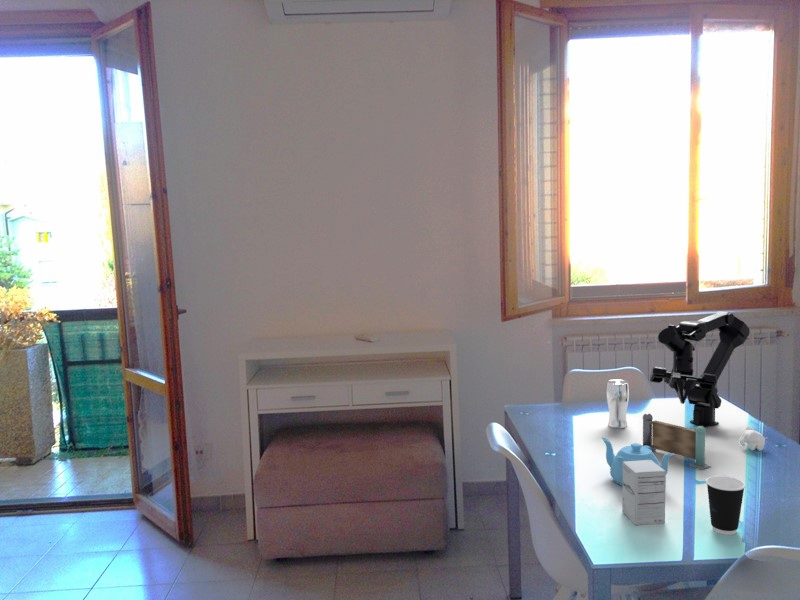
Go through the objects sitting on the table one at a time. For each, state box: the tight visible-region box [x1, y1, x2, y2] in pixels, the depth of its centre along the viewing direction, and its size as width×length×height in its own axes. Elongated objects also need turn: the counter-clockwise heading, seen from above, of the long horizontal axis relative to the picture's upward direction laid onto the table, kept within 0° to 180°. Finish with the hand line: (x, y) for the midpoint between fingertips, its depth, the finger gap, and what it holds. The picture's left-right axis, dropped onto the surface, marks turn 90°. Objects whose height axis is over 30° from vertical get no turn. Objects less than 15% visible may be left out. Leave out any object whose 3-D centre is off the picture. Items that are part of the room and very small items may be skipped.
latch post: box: [688, 425, 712, 471], centre depth 189 cm, size 4×4×11 cm
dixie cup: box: [705, 475, 746, 536], centre depth 151 cm, size 8×8×11 cm
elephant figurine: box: [738, 426, 769, 452], centre depth 202 cm, size 7×8×6 cm
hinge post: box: [641, 412, 657, 452], centre depth 204 cm, size 5×5×11 cm
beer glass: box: [606, 379, 630, 430], centre depth 227 cm, size 7×7×15 cm
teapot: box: [601, 437, 675, 487], centre depth 179 cm, size 15×15×10 cm
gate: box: [652, 420, 696, 460], centre depth 196 cm, size 16×2×9 cm, turn 38°
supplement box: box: [621, 460, 667, 526], centre depth 158 cm, size 7×7×13 cm
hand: (682, 403), depth 208 cm, fingers closed
